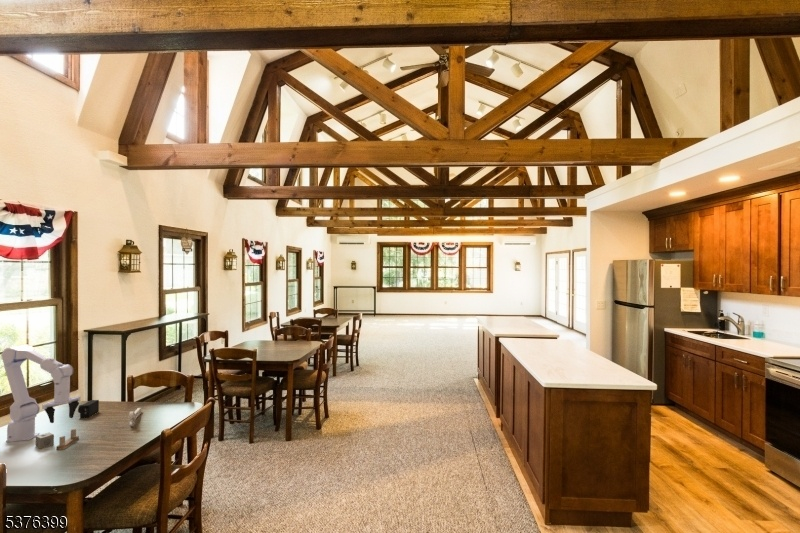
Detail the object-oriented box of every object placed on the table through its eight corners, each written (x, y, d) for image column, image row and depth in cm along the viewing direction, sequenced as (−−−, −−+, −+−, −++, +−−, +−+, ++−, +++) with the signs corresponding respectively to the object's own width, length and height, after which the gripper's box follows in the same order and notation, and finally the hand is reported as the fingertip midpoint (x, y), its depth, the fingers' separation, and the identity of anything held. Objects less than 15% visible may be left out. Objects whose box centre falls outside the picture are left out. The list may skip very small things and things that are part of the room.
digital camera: (88, 412, 237) (88, 400, 237) (98, 411, 238) (98, 399, 238) (77, 418, 227) (77, 405, 227) (88, 418, 228) (88, 405, 228)
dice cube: (35, 447, 190) (35, 436, 190) (49, 443, 194) (49, 432, 194) (40, 449, 187) (40, 438, 188) (53, 445, 192) (53, 434, 192)
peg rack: (56, 449, 187) (56, 438, 187) (71, 439, 198) (71, 428, 198) (64, 449, 187) (64, 438, 187) (78, 438, 199) (78, 428, 199)
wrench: (141, 417, 237) (132, 429, 210) (137, 417, 236) (127, 429, 209) (141, 402, 238) (132, 412, 211) (137, 403, 237) (128, 413, 210)
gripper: (47, 396, 190) (46, 426, 190) (83, 388, 203) (83, 416, 203) (40, 394, 194) (39, 423, 194) (76, 386, 206) (76, 414, 206)
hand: (61, 420), depth 198 cm, fingers open, 7 cm apart
